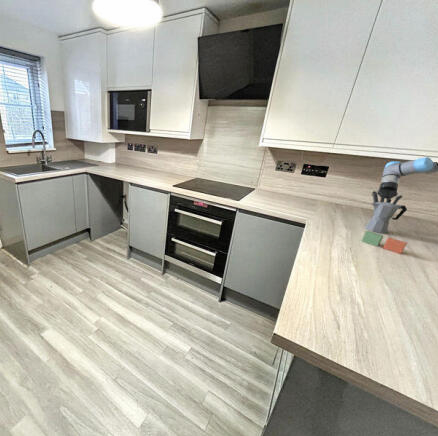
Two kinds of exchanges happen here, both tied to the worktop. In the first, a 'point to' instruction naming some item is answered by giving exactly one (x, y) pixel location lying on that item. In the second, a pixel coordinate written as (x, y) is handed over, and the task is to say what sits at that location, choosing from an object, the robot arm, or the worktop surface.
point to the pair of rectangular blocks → (389, 245)
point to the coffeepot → (383, 216)
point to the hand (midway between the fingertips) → (380, 218)
